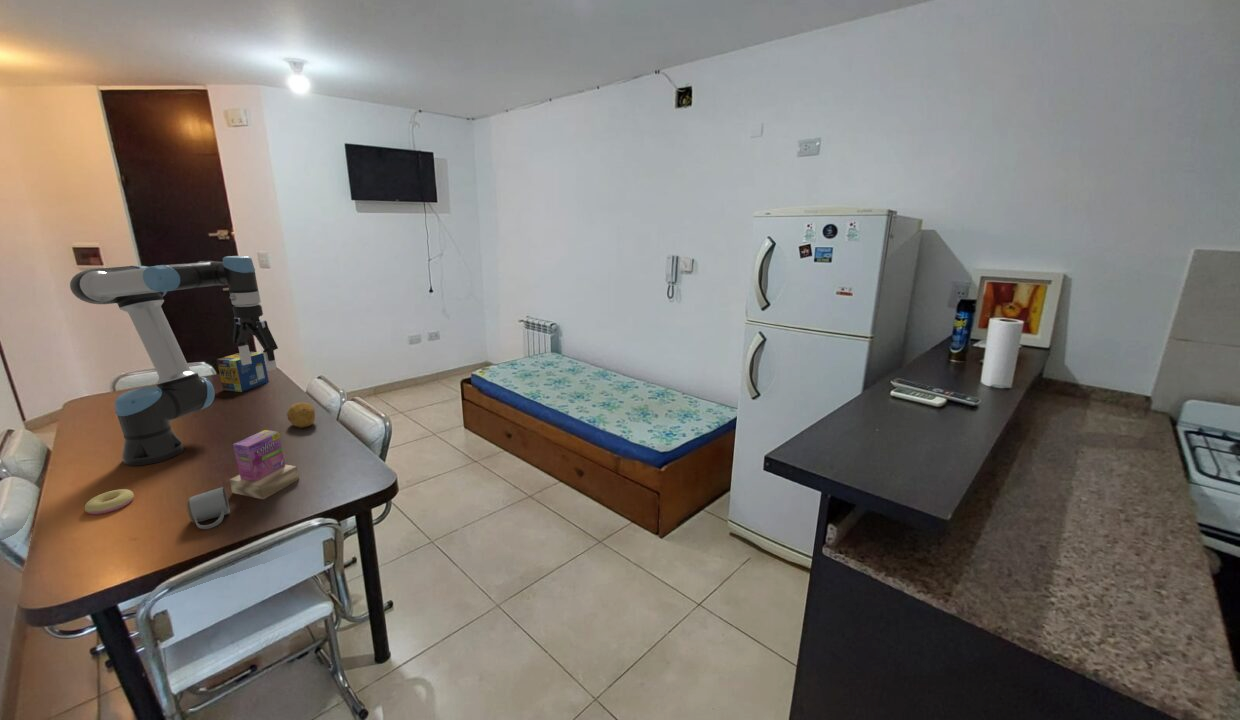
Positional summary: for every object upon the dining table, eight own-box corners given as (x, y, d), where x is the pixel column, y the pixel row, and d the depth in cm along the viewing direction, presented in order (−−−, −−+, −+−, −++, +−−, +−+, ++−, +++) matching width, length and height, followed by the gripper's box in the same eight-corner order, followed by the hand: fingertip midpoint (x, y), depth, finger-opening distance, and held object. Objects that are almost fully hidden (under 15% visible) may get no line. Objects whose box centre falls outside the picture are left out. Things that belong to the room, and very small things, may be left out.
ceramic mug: (192, 515, 134) (185, 491, 132) (229, 505, 139) (223, 482, 137) (191, 535, 126) (184, 510, 124) (230, 523, 131) (224, 499, 129)
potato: (287, 411, 182) (315, 403, 188) (281, 403, 192) (307, 396, 198) (294, 434, 185) (321, 425, 191) (288, 424, 195) (314, 416, 200)
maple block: (232, 494, 145) (229, 479, 144) (269, 474, 156) (267, 461, 155) (263, 500, 142) (260, 485, 141) (299, 480, 154) (296, 466, 152)
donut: (143, 504, 142) (114, 498, 143) (143, 490, 142) (114, 483, 142) (104, 520, 132) (73, 513, 133) (105, 504, 132) (74, 497, 132)
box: (255, 482, 143) (247, 446, 140) (240, 479, 144) (232, 443, 141) (286, 465, 153) (279, 431, 149) (271, 463, 154) (264, 429, 151)
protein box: (222, 390, 227) (215, 359, 223) (251, 380, 242) (245, 350, 238) (241, 392, 226) (235, 360, 221) (269, 381, 240) (263, 352, 236)
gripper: (211, 302, 157) (224, 364, 163) (258, 310, 147) (270, 375, 153) (236, 299, 164) (248, 359, 170) (283, 306, 154) (294, 369, 160)
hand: (259, 367), depth 161 cm, fingers open, 13 cm apart
